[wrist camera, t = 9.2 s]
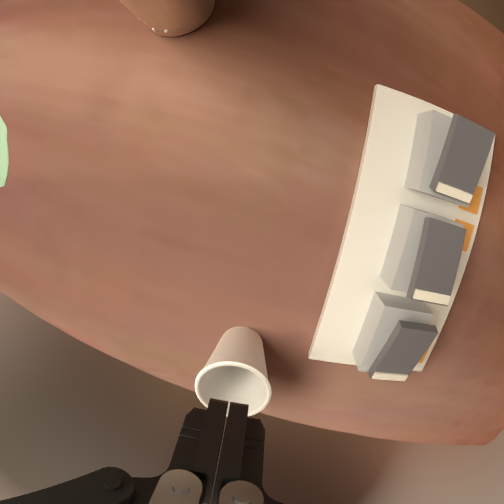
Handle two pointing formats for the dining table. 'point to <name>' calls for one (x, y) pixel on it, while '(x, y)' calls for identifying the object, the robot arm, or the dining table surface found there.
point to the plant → (3, 153)
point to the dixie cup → (236, 371)
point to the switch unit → (391, 232)
